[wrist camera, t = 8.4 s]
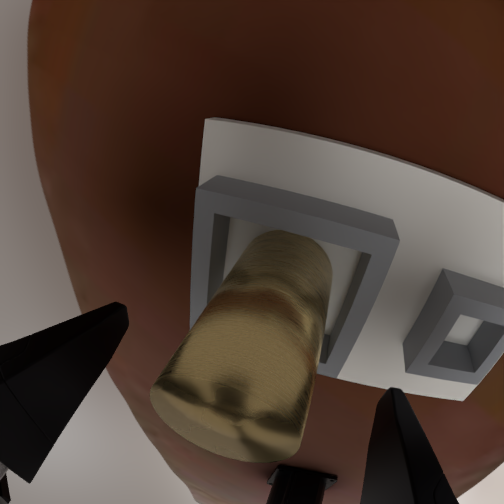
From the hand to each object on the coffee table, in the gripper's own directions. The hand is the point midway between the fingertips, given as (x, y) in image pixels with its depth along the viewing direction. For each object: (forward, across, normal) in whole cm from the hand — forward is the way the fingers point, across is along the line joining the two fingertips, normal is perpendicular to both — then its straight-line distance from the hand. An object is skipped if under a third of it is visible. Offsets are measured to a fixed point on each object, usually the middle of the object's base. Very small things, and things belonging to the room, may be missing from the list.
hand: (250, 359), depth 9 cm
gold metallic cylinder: (+6, 0, 0) cm, 6 cm away
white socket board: (+6, -5, 0) cm, 8 cm away
